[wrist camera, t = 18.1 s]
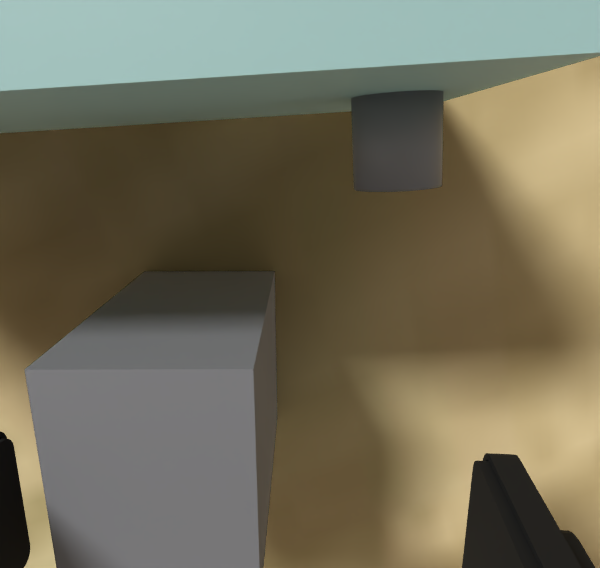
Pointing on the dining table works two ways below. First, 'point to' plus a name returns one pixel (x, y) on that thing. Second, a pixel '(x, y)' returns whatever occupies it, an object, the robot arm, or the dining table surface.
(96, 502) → the block
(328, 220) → the dining table surface
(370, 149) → the door
